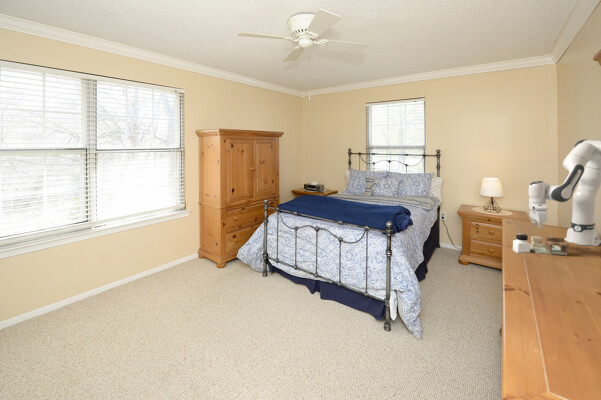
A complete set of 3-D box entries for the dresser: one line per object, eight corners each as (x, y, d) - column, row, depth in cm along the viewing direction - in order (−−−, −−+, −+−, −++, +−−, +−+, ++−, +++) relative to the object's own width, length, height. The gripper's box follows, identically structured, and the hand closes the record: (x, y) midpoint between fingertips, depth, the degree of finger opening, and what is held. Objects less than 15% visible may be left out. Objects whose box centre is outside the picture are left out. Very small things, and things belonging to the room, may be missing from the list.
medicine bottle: (530, 253, 195) (531, 235, 194) (517, 253, 197) (518, 235, 195) (524, 250, 202) (525, 233, 201) (512, 250, 204) (513, 233, 202)
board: (556, 249, 202) (557, 245, 201) (566, 256, 188) (567, 252, 188) (527, 247, 208) (528, 243, 207) (535, 254, 194) (535, 250, 193)
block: (530, 244, 205) (531, 236, 204) (538, 245, 203) (539, 236, 202) (533, 246, 201) (533, 237, 200) (541, 247, 199) (541, 238, 198)
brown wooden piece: (562, 250, 192) (563, 238, 191) (567, 253, 186) (568, 241, 185) (545, 249, 196) (546, 237, 194) (549, 252, 189) (550, 240, 188)
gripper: (526, 203, 210) (527, 223, 211) (536, 208, 191) (536, 229, 193) (537, 203, 207) (538, 223, 209) (548, 208, 189) (549, 229, 190)
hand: (537, 226), depth 201 cm, fingers open, 8 cm apart
